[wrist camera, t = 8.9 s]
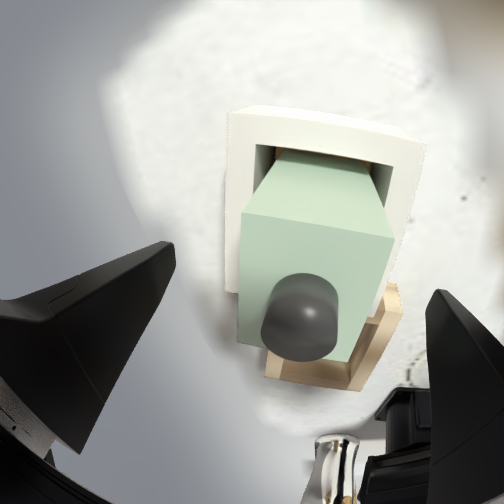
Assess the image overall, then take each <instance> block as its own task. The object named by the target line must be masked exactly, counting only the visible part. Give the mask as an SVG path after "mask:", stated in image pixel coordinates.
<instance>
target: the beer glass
mask: <svg viewBox="0 0 504 504" xmlns="http://www.w3.org/2000/svg"><path fill="white" fill-rule="evenodd" d="M359 443H360V442H359V440H358V439H357V438H356V437H354V436H351V435H345V434H331V435H325V436H322V437H319V438H318V439H317V440H316V441H315V464H314V468H313V472H312V474H311V477H310V480H309V482H308V485H307V488H306V490H305V492H304V494H303V497H302V500H301V503H300V504H356V484H355V472H354V468H355V459H356V455H357V451H358V448H359Z"/></svg>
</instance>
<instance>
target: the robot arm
mask: <svg viewBox="0 0 504 504" xmlns="http://www.w3.org/2000/svg"><path fill="white" fill-rule="evenodd" d="M175 267H176V258H175V248H174V244H173V243H171V242H166V241H160V242H158V243H155V244H153V245H150V246H148V247H145V248H143V249H140V250H137V251H135V252H132V253H130V254H127V255H125V256H123V257H120V258H117V259H115V260H113V261H110V262H108V263H105V264H103V265H100V266H98V267H96V268H93V269H91V270H89V271H86V272H84V273H82V274H80V275H77V276H74V277H72V278H70V279H67V280H65V281H62V282H60V283H58V284H55V285H52V286H50V287H47V288H44V289H41V290H38V291H36V292H33V293H31V294H28V295H25V296H22V297H20V298H17V299H12V300H1V299H0V504H114V503H112V502H110V501H108V500H106V499H104V498H103V497H101V496H99V495H97V494H95V493H94V492H92V491H90V490H88V489H87V488H85V487H83V486H82V485H80V484H78V483H77V482H75V481H74V480H72V479H71V478H69V477H67V476H66V475H65V474H63V473H62V472H60V471H59V470H57V469H56V467H55V463H54V459H53V455H52V451H51V449H50V447H51V446H52V444H53V442H54V441H55V440H57V441H58V442H60V443H61V444H63V445H64V446H66V447H67V448H69V449H71V450H72V451H74V452H75V453H77V454H79V455H80V453H81V452H82V450H83V448H84V446H85V443H86V442H87V439H88V437H89V435H90V433H91V431H92V429H93V427H94V425H95V423H96V421H97V419H98V417H99V415H100V413H101V411H102V409H103V407H104V405H105V402H106V401H107V399H108V397H109V395H110V393H111V391H112V389H113V387H114V385H115V383H116V381H117V380H118V378H119V376H120V374H121V372H122V370H123V368H124V366H125V365H126V363H127V361H128V359H129V357H130V355H131V353H132V352H133V350H134V348H135V346H136V344H137V343H138V341H139V339H140V337H141V336H142V334H143V332H144V330H145V328H146V326H147V325H148V323H149V321H150V320H151V318H152V316H153V314H154V313H155V311H156V309H157V307H158V305H159V304H160V302H161V300H162V297H163V295H164V293H165V290H166V288H167V286H168V284H169V281H170V279H171V277H172V275H173V273H174V270H175ZM425 317H426V348H427V361H428V371H429V383H430V389H416V388H397V389H395V390H394V392H393V393H392V394H391V396H390V397H389V398H388V400H387V401H386V402H385V403H384V405H383V406H382V407H381V408H380V410H379V411H378V412H377V413H376V415H375V420H377V421H386V453H385V454H384V455H379V456H369V457H368V460H367V462H366V465H365V470H364V475H363V480H362V484H361V488H360V490H359V493H358V495H357V499H358V501H360V503H361V504H504V346H503V345H502V344H501V343H500V342H499V341H498V340H497V339H496V338H495V337H494V336H493V335H492V334H491V333H490V332H489V331H488V330H487V328H486V327H485V326H484V325H483V324H482V323H481V322H480V321H479V320H478V319H477V318H476V317H475V316H474V315H472V314H471V313H470V312H469V311H468V310H467V309H466V308H465V307H464V306H463V305H462V304H461V303H460V302H459V301H458V300H457V299H456V298H455V297H454V296H453V295H451V294H450V293H449V292H448V291H447V290H442V289H436V290H435V291H434V293H433V295H432V297H431V299H430V301H429V303H428V305H427V308H426V312H425Z"/></svg>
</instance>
